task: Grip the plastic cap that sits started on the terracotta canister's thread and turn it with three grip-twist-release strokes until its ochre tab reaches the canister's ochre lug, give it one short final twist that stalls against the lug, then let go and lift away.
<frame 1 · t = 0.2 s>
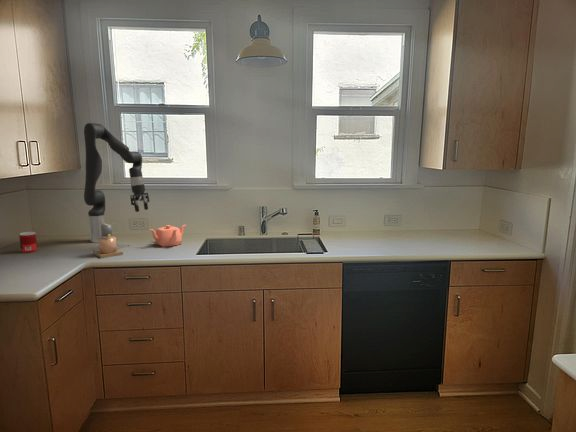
hand: (142, 210, 231), 23 cm above the counter, tool pointing down, fingers open, 8 cm apart
canister: (108, 254, 217), on the counter
cap: (107, 230, 214), point 14 cm above the counter, hinge at 0.0°
canned food: (29, 251, 220), on the counter
pot: (169, 244, 240), on the counter
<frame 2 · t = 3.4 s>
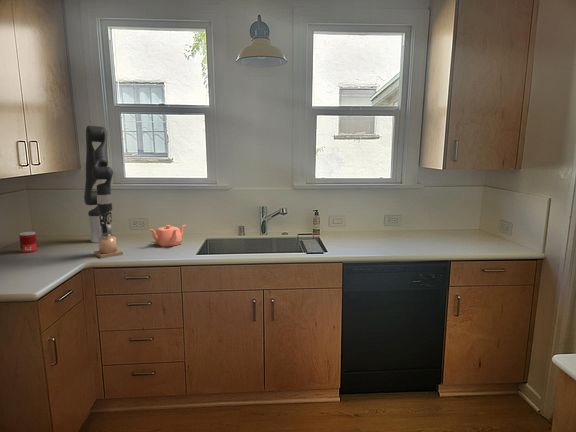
hand: (106, 231, 214), 13 cm above the counter, tool pointing down, fingers closed on cap, 5 cm apart
cap: (107, 230, 214), point 14 cm above the counter, hinge at 0.1°, touching gripper
everything else where it was.
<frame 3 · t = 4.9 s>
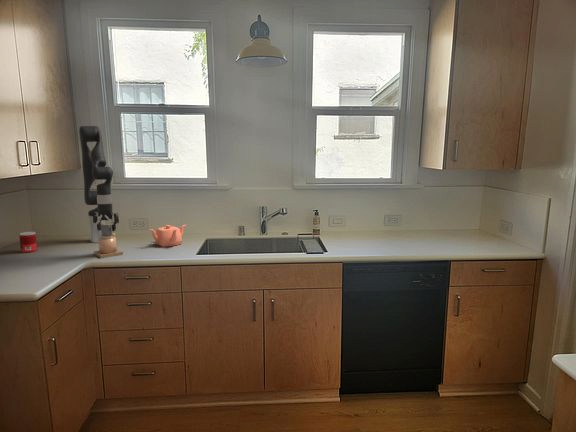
hand: (106, 230, 214), 14 cm above the counter, tool pointing down, fingers open, 8 cm apart
cap: (108, 229, 214), point 14 cm above the counter, hinge at 48.6°
everything else where it was.
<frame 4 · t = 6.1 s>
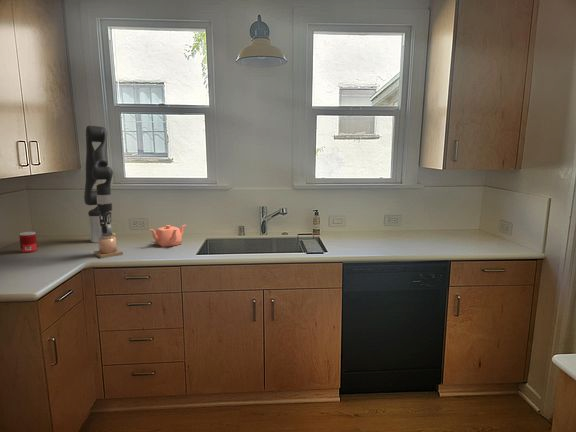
hand: (106, 231, 214), 13 cm above the counter, tool pointing down, fingers closed on cap, 5 cm apart
cap: (108, 229, 214), point 14 cm above the counter, hinge at 49.5°, touching gripper
everything else where it was.
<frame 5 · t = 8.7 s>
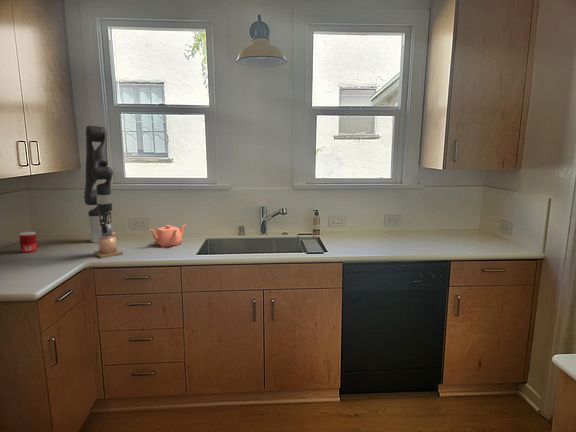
hand: (106, 231, 214), 13 cm above the counter, tool pointing down, fingers closed on cap, 5 cm apart
cap: (108, 229, 215), point 14 cm above the counter, hinge at 97.2°, touching gripper
everything else where it was.
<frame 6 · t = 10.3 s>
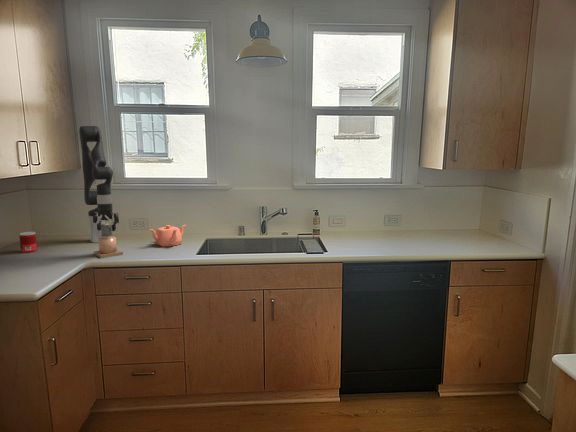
hand: (106, 230, 214), 14 cm above the counter, tool pointing down, fingers open, 8 cm apart
cap: (107, 229, 215), point 14 cm above the counter, hinge at 146.1°
everything else where it was.
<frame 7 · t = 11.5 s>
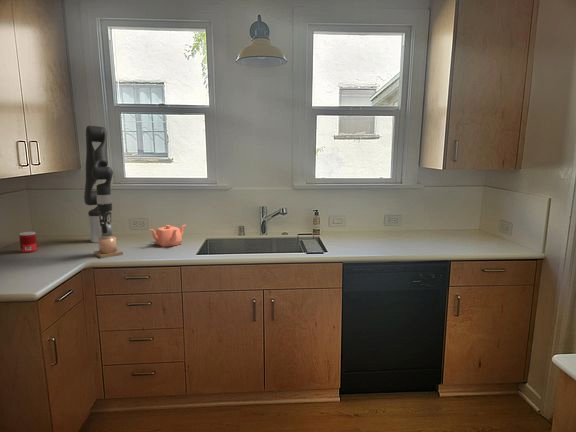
hand: (106, 231, 214), 13 cm above the counter, tool pointing down, fingers closed on cap, 5 cm apart
cap: (107, 229, 215), point 14 cm above the counter, hinge at 146.8°, touching gripper
everything else where it was.
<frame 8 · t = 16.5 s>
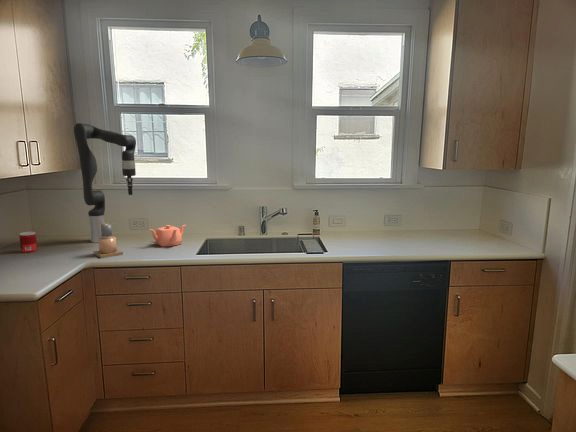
hand: (130, 194, 235), 32 cm above the counter, tool pointing down, fingers open, 8 cm apart
cap: (106, 229, 215), point 14 cm above the counter, hinge at 149.0°
everything else where it was.
at the end: cap at +149° (first picture: +0°); the gripper is holding nothing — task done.
